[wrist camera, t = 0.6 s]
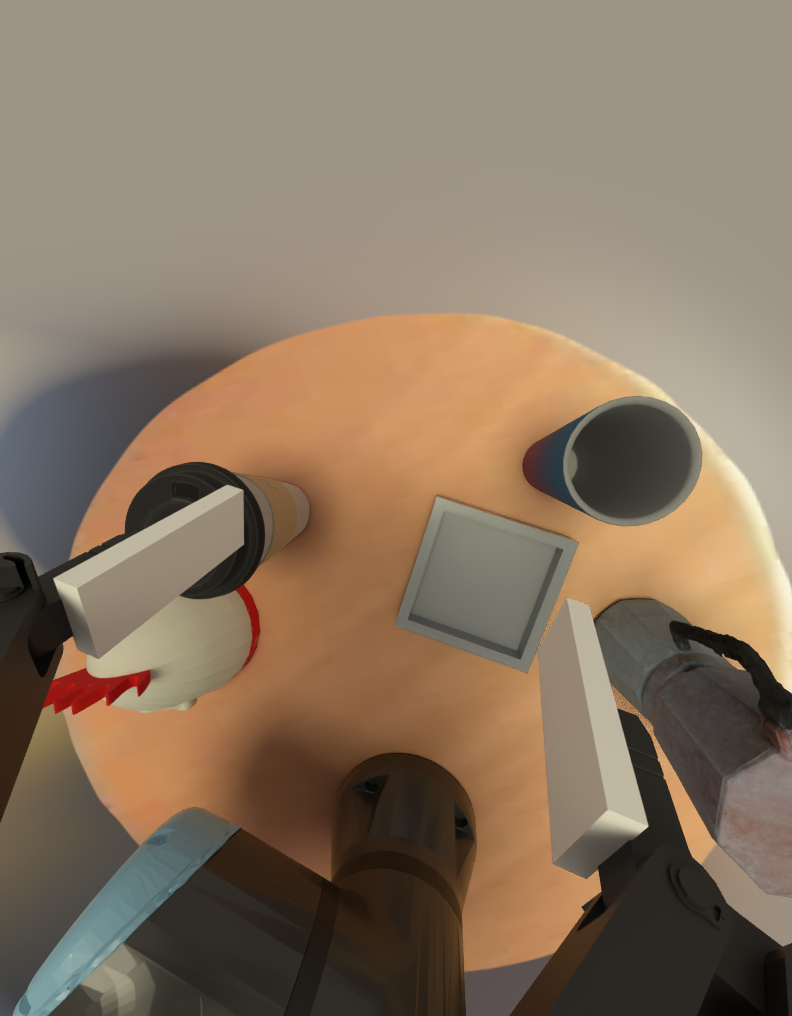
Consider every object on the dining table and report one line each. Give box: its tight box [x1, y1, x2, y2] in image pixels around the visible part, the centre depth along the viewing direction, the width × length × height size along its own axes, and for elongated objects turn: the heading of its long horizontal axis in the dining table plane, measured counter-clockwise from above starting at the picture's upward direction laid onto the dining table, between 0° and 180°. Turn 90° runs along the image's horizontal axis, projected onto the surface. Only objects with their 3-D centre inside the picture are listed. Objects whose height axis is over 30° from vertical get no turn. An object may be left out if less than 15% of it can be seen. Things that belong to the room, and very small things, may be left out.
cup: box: [523, 396, 702, 526], centre depth 27 cm, size 7×7×15 cm
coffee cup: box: [125, 462, 310, 599], centre depth 31 cm, size 9×9×15 cm
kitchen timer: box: [43, 585, 260, 715], centre depth 33 cm, size 14×14×15 cm
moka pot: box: [594, 599, 792, 898], centre depth 25 cm, size 10×15×20 cm, turn 26°
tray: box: [395, 495, 579, 673], centre depth 35 cm, size 13×13×2 cm
